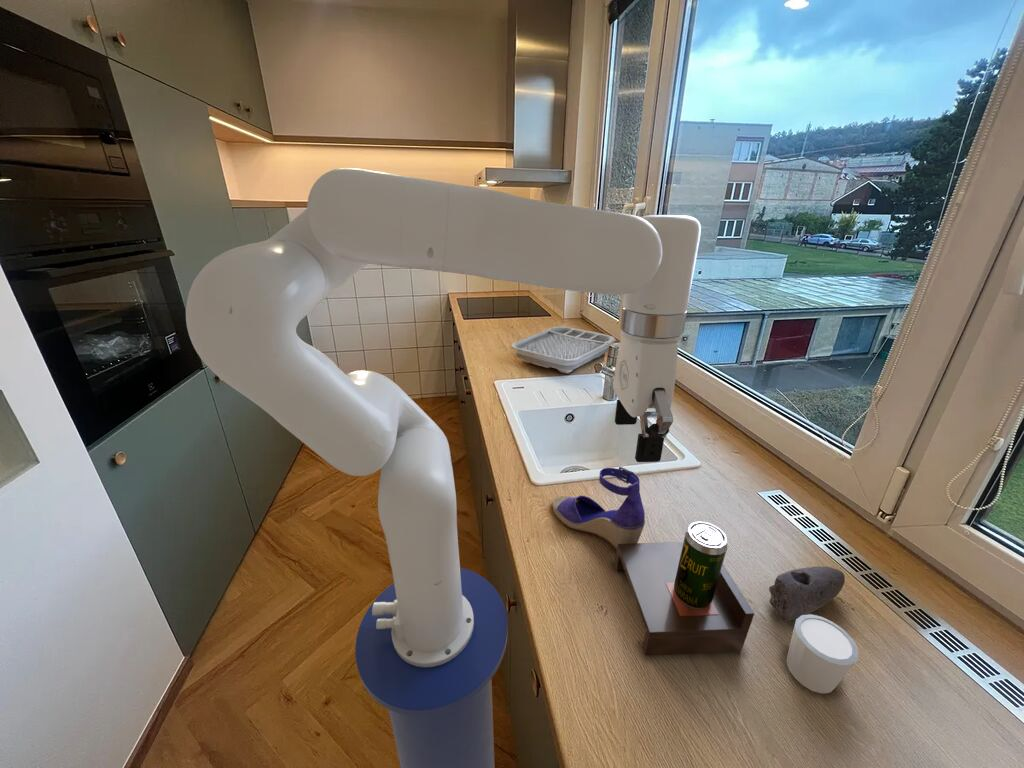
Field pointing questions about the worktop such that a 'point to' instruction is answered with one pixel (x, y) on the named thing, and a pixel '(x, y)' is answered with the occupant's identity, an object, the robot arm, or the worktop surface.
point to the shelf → (681, 604)
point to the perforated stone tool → (804, 590)
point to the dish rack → (562, 348)
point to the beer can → (700, 565)
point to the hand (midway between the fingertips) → (635, 440)
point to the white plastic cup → (820, 653)
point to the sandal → (606, 524)
